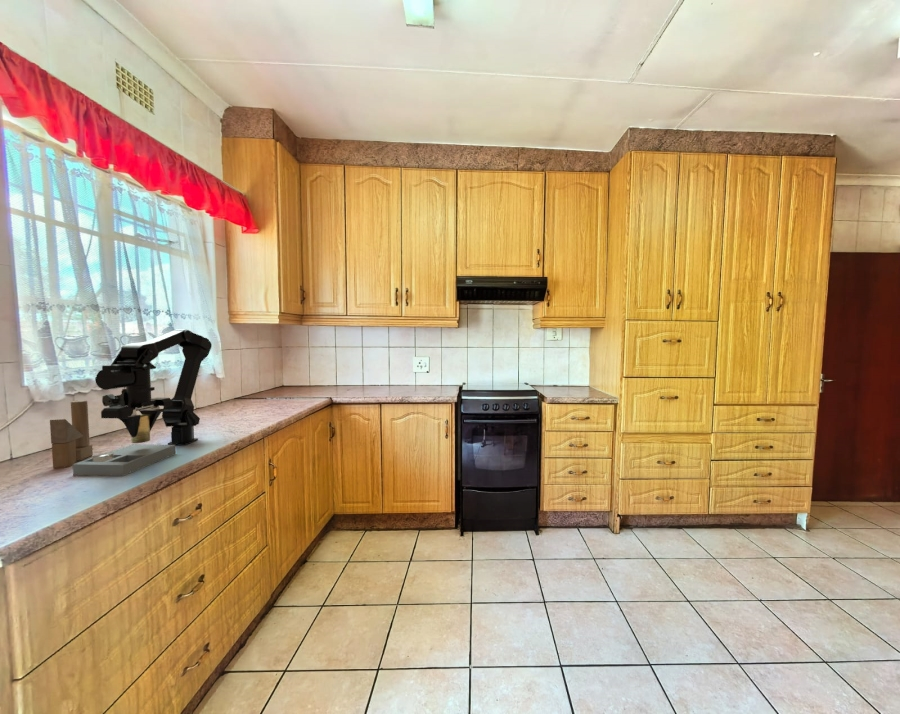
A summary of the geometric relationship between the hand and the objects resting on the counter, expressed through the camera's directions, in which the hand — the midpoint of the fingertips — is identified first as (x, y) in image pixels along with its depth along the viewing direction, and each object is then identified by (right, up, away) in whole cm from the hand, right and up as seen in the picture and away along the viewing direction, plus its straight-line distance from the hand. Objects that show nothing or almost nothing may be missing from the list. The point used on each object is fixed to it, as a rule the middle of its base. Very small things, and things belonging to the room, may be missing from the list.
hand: (140, 434), depth 110 cm
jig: (0, -8, -4) cm, 9 cm away
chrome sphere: (-4, -8, -8) cm, 12 cm away
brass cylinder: (0, -2, 0) cm, 2 cm away
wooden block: (-18, -8, -2) cm, 20 cm away
